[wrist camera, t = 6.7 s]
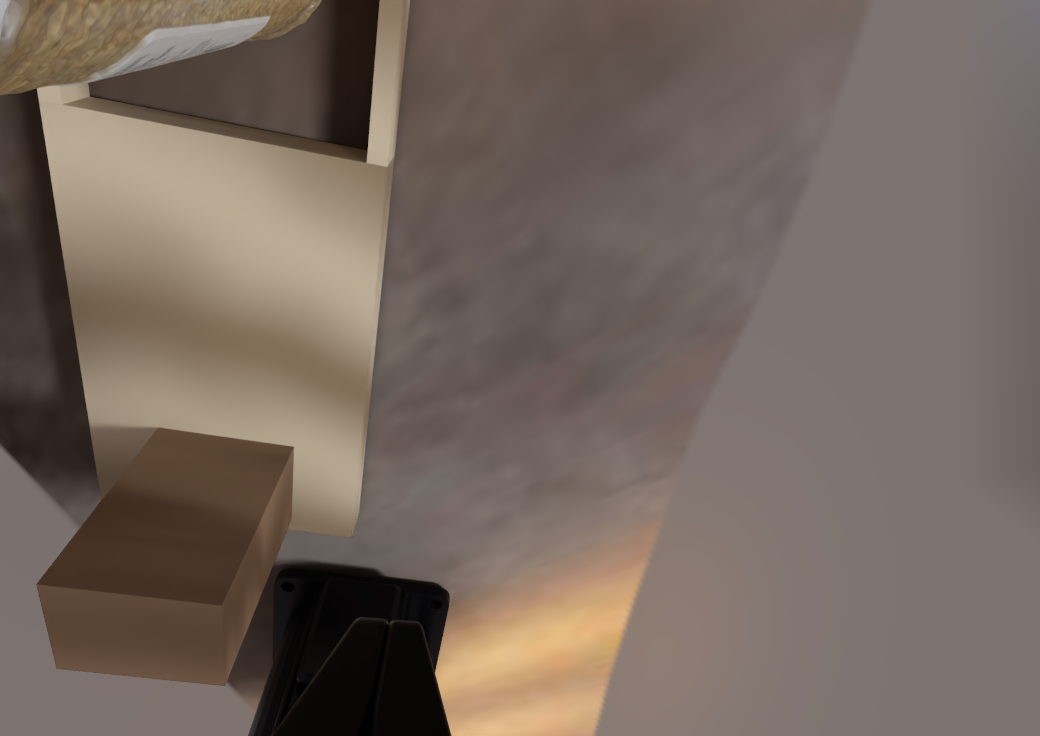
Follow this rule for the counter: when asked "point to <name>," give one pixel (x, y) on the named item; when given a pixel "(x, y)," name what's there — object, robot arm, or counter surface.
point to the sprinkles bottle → (127, 35)
